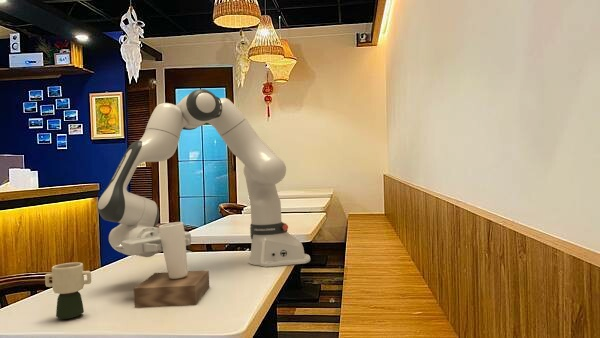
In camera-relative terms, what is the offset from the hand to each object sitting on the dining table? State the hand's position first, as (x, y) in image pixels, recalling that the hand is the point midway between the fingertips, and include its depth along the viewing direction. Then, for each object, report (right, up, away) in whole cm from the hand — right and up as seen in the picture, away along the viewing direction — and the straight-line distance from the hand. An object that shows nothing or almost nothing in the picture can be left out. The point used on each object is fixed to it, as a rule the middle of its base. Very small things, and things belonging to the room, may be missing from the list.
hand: (173, 245), depth 136 cm
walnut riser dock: (0, -15, +1) cm, 15 cm away
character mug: (-22, -16, -14) cm, 31 cm away
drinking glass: (+1, -9, +2) cm, 10 cm away
